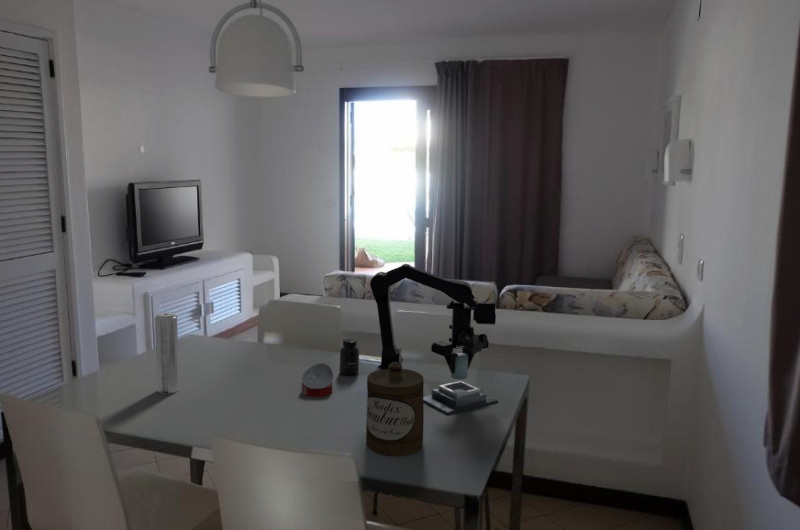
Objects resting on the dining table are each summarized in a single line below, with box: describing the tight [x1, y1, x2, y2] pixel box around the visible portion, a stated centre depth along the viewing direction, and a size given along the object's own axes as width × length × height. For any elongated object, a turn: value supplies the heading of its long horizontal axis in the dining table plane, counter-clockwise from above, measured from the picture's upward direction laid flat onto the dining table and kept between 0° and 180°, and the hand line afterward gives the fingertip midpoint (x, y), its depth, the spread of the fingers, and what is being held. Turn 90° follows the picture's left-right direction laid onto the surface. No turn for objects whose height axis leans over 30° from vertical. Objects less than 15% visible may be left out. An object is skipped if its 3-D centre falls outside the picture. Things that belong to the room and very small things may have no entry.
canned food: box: [301, 363, 334, 398], centre depth 196 cm, size 11×10×10 cm
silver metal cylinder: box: [154, 312, 180, 395], centre depth 193 cm, size 6×6×25 cm
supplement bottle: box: [338, 338, 360, 377], centre depth 214 cm, size 7×7×12 cm
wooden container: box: [365, 362, 425, 457], centre depth 158 cm, size 15×15×22 cm
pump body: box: [450, 352, 469, 380], centre depth 189 cm, size 5×5×7 cm
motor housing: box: [423, 380, 499, 416], centre depth 190 cm, size 20×14×4 cm
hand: (459, 372), depth 189 cm, fingers closed on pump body, 5 cm apart
